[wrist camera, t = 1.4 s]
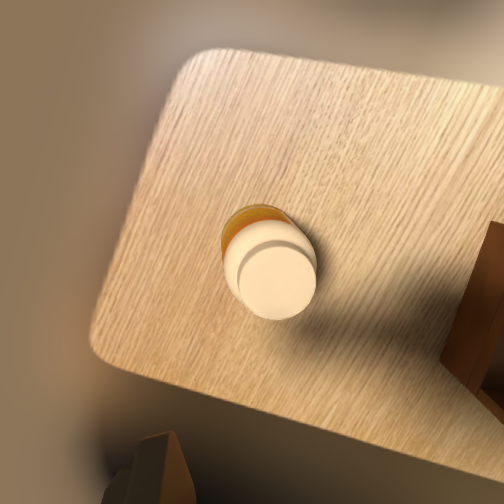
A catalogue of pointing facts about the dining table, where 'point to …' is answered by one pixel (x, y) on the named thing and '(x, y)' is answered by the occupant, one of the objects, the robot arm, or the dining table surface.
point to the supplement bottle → (268, 262)
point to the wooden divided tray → (481, 327)
